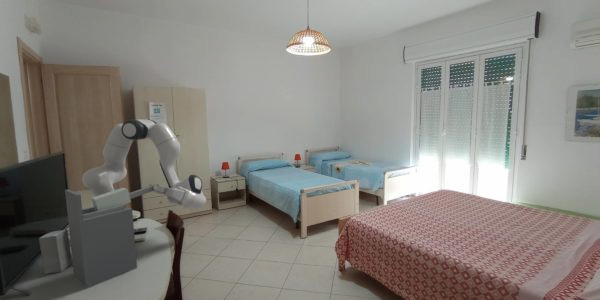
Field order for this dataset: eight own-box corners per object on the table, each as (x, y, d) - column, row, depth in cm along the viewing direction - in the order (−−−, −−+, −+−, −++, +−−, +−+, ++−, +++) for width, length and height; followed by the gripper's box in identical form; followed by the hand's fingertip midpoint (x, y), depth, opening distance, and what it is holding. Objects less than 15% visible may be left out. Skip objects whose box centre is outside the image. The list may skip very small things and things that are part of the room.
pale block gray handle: (95, 211, 114) (91, 197, 113) (156, 189, 134) (153, 177, 133) (99, 213, 112) (95, 199, 110) (161, 190, 132) (158, 178, 130)
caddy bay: (74, 276, 114) (64, 189, 110) (123, 258, 128) (116, 181, 124) (86, 288, 106) (76, 195, 102) (137, 268, 120) (130, 185, 116)
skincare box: (61, 272, 117) (57, 236, 116) (41, 274, 116) (37, 238, 114) (73, 262, 126) (69, 228, 124) (55, 264, 124) (51, 230, 123)
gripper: (168, 186, 147) (144, 177, 137) (190, 191, 135) (165, 182, 125) (163, 198, 145) (138, 189, 135) (185, 204, 133) (159, 196, 123)
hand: (151, 186), depth 130 cm, fingers closed on pale block gray handle, 2 cm apart
